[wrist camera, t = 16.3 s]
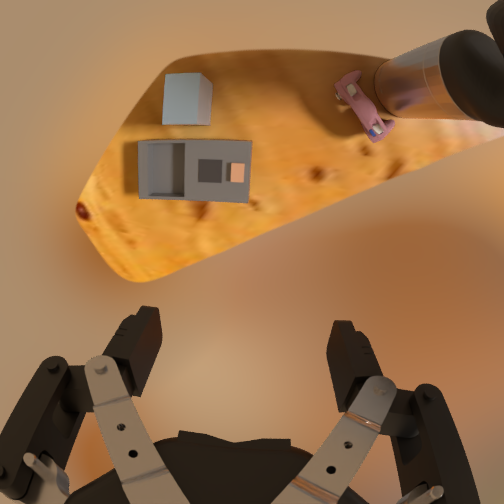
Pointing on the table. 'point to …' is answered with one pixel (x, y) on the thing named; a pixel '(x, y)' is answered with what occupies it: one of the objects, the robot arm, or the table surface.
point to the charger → (187, 99)
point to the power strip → (195, 169)
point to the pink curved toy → (362, 107)
